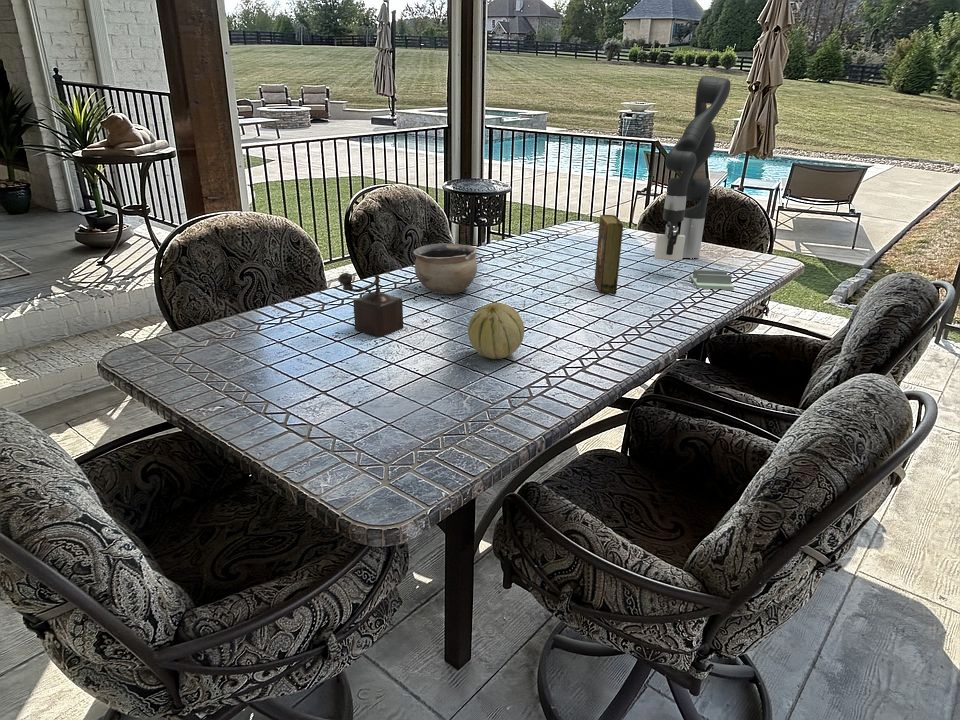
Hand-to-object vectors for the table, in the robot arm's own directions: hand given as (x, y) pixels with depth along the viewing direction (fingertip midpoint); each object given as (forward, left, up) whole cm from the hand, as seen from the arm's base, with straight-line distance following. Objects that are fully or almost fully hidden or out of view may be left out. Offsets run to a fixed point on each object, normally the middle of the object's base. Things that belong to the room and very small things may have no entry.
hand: (668, 253), depth 243 cm
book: (+20, -25, -9) cm, 34 cm away
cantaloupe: (+89, -59, -9) cm, 107 cm away
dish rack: (+8, +15, -9) cm, 20 cm away
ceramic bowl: (+32, -81, -9) cm, 88 cm away
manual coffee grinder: (+75, -96, -10) cm, 122 cm away
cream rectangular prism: (0, 0, -2) cm, 2 cm away
